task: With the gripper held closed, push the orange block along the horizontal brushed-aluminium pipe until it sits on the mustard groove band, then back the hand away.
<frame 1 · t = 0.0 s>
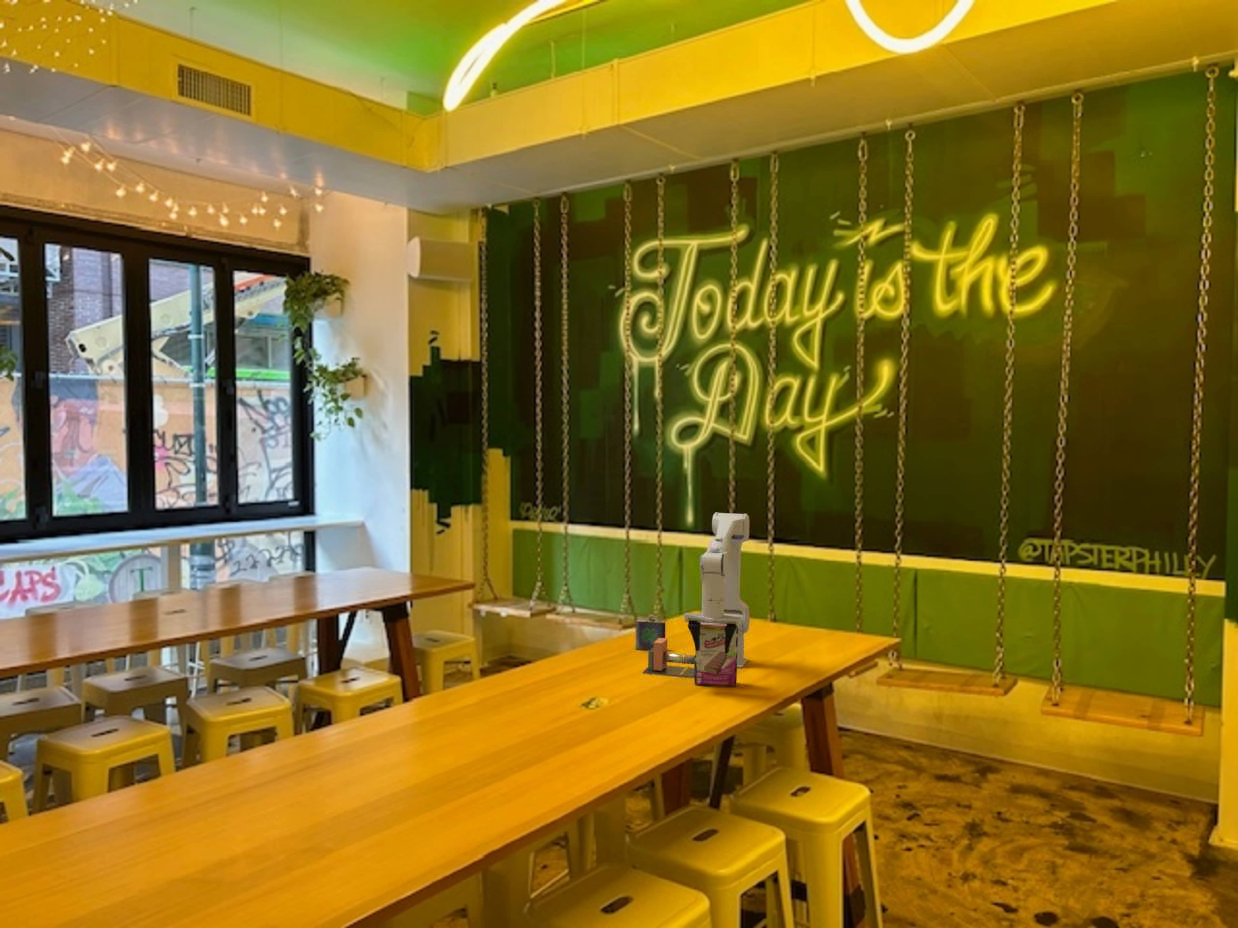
hand: (712, 651, 240), 10 cm above the table, fingers open, 7 cm apart
orange block: (660, 653, 259), point 5 cm above the table, slide at -4.3 cm
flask: (650, 650, 283), on the table
candy bar box: (715, 684, 246), on the table, touching gripper
pipe rig: (675, 671, 258), on the table
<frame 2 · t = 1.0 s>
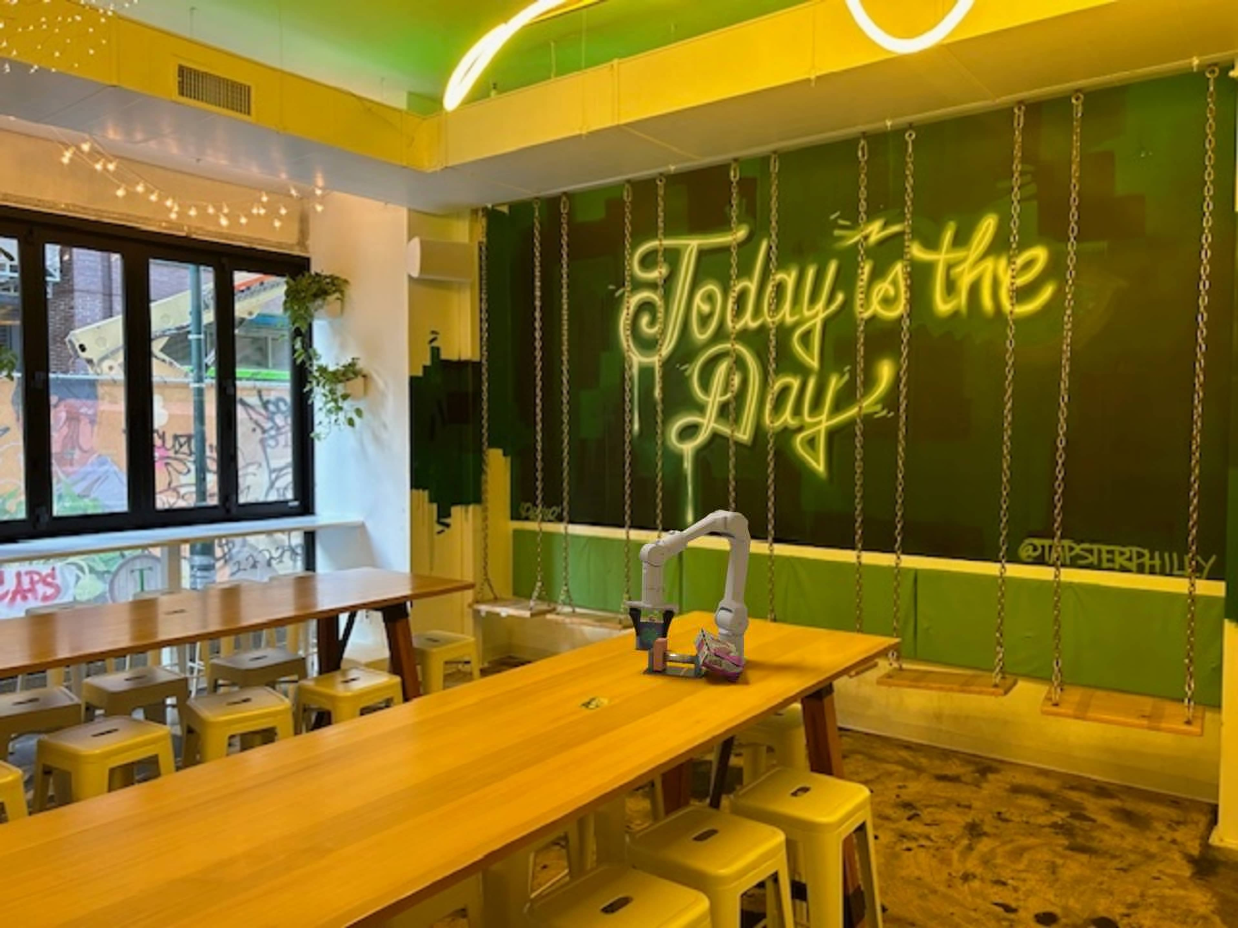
hand: (651, 636, 256), 10 cm above the table, fingers open, 7 cm apart
candy bar box: (723, 667, 246), point 4 cm above the table, touching arm, pipe rig
everything else where it was.
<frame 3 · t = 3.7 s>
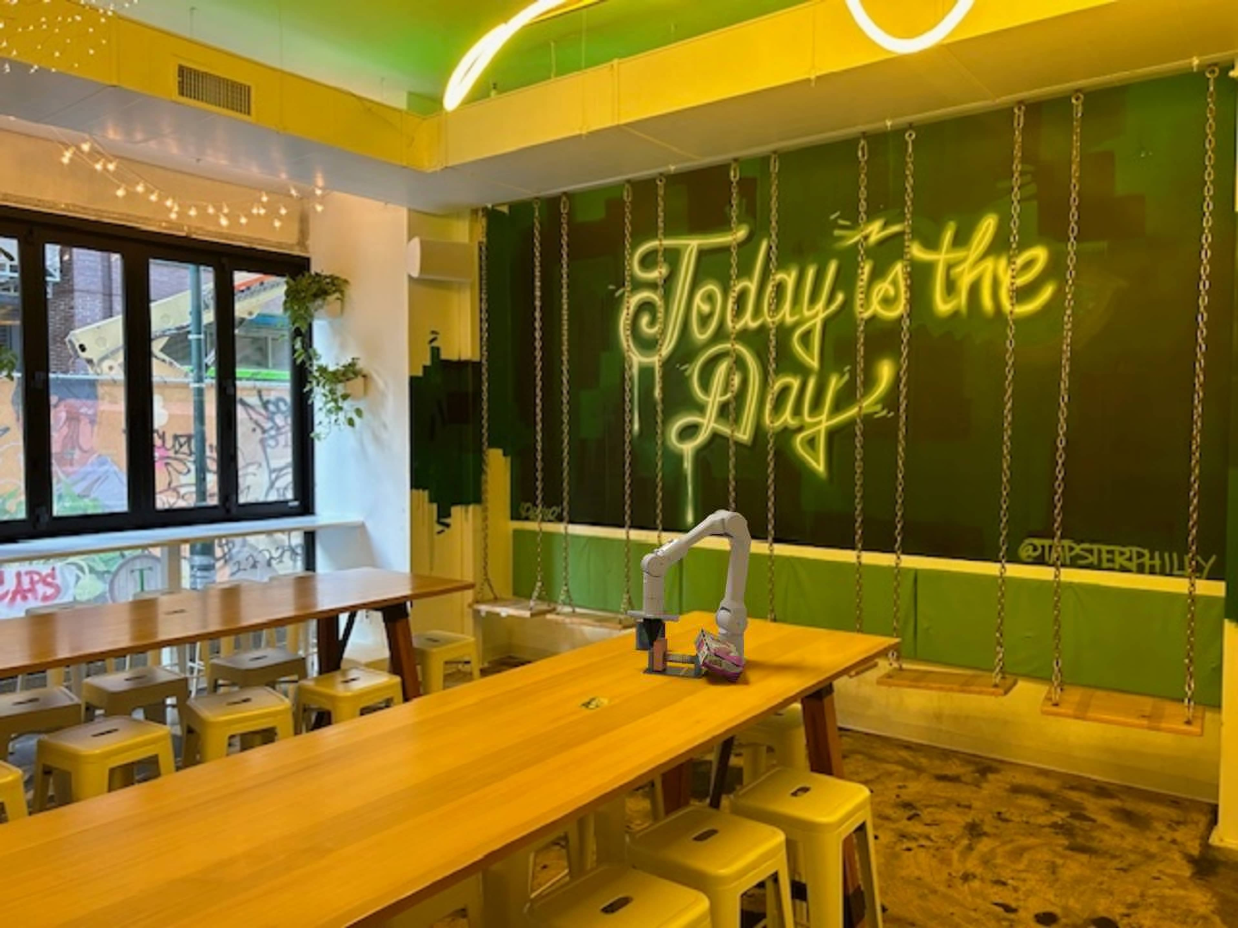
hand: (652, 645, 259), 7 cm above the table, fingers closed
orange block: (660, 653, 259), point 5 cm above the table, slide at -4.3 cm, touching gripper
everything else where it was.
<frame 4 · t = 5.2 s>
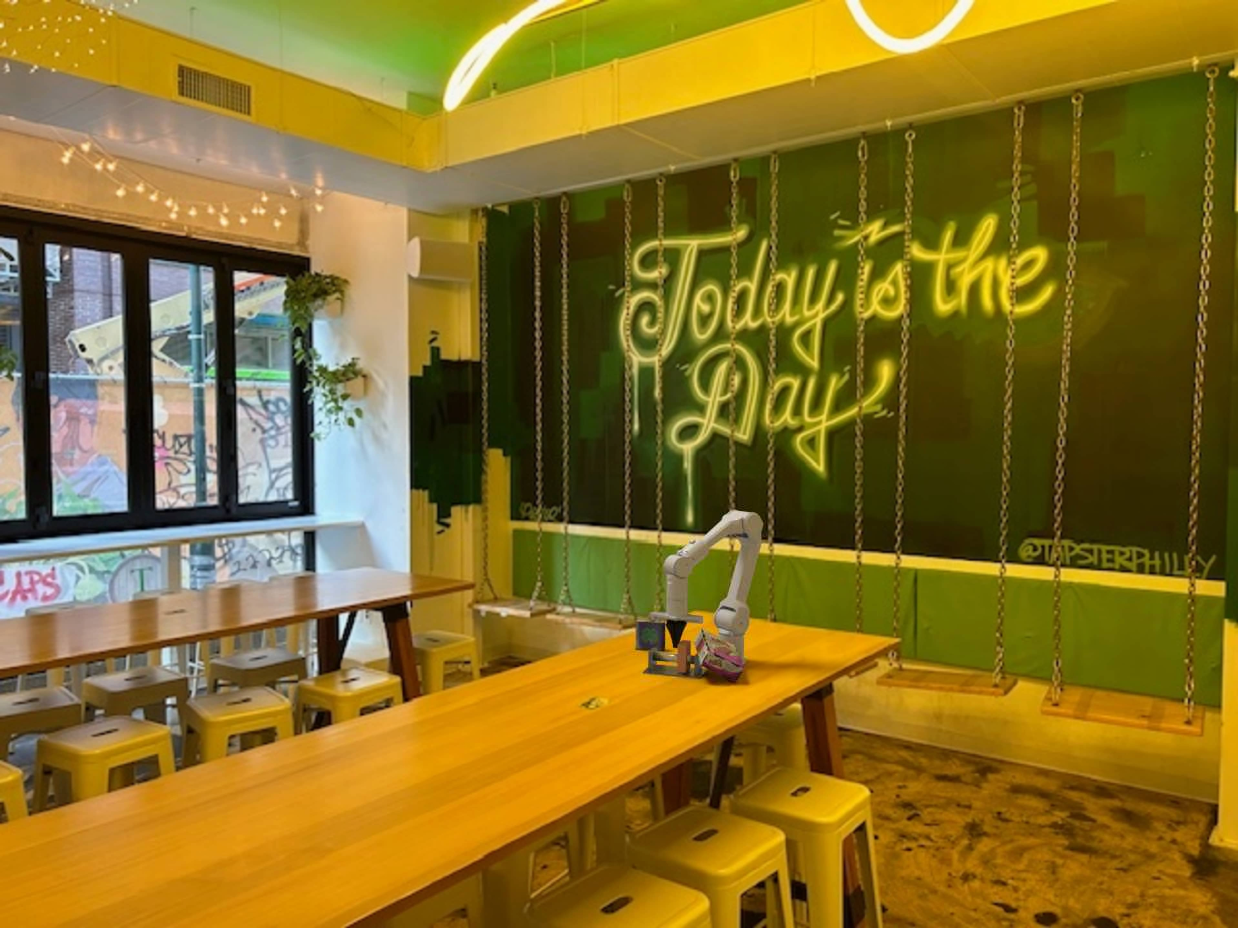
hand: (676, 647, 257), 7 cm above the table, fingers closed
orange block: (684, 656, 257), point 5 cm above the table, slide at 2.5 cm, touching gripper
everything else where it was.
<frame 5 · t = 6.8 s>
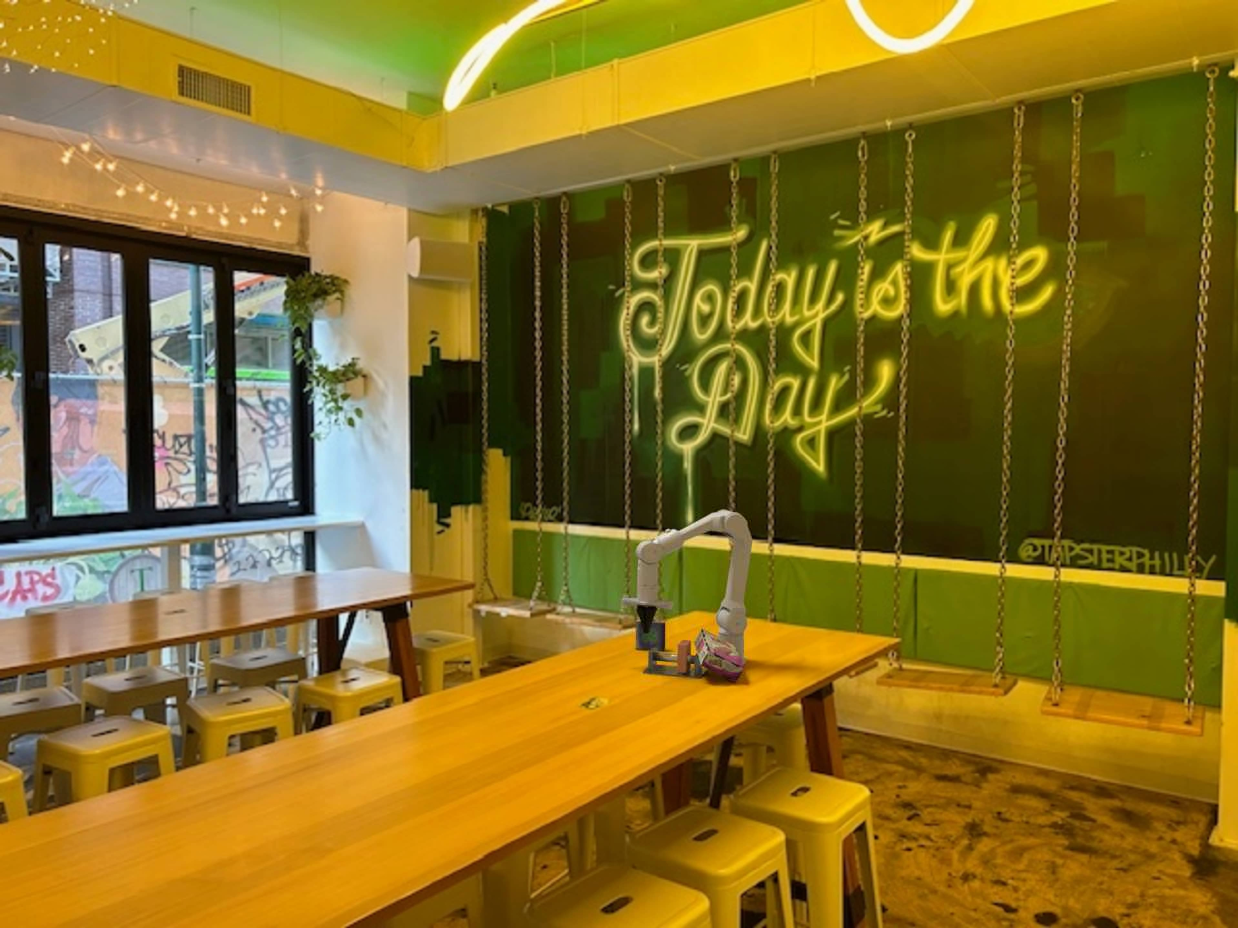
hand: (646, 632, 261), 10 cm above the table, fingers closed
orange block: (684, 656, 257), point 5 cm above the table, slide at 2.5 cm
everything else where it was.
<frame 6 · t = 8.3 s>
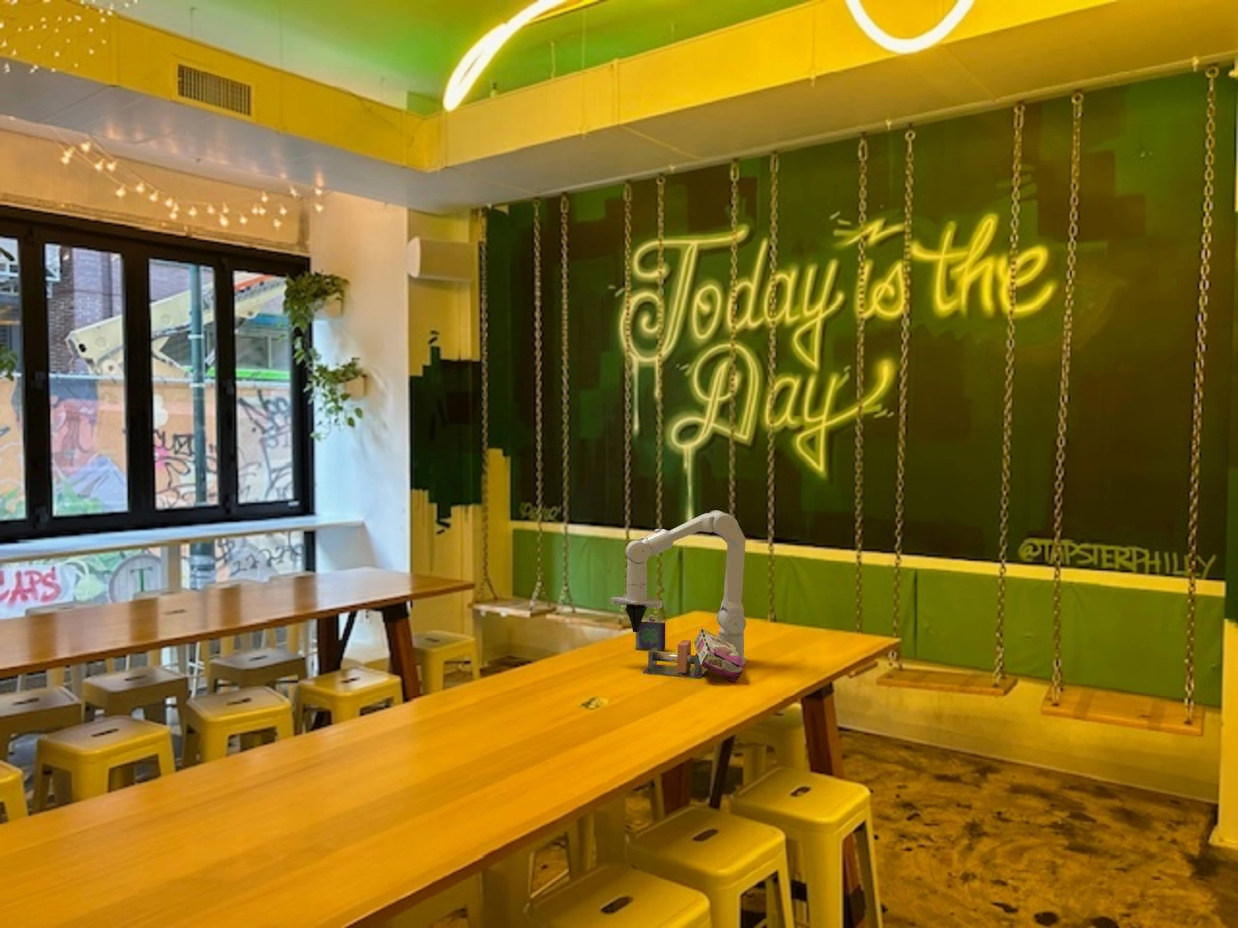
hand: (636, 631, 263), 10 cm above the table, fingers closed
nothing on the table moved.
at the end: orange block slide at 2.5 cm; the gripper is holding nothing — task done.
